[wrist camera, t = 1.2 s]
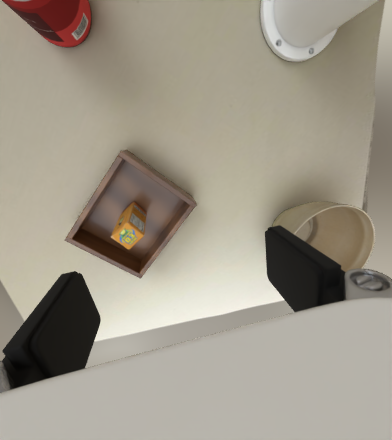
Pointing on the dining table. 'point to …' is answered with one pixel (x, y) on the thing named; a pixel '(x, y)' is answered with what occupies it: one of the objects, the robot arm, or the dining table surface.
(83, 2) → the canned food
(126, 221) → the supplement box
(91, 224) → the wooden tray
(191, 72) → the dining table surface
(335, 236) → the planter bowl
